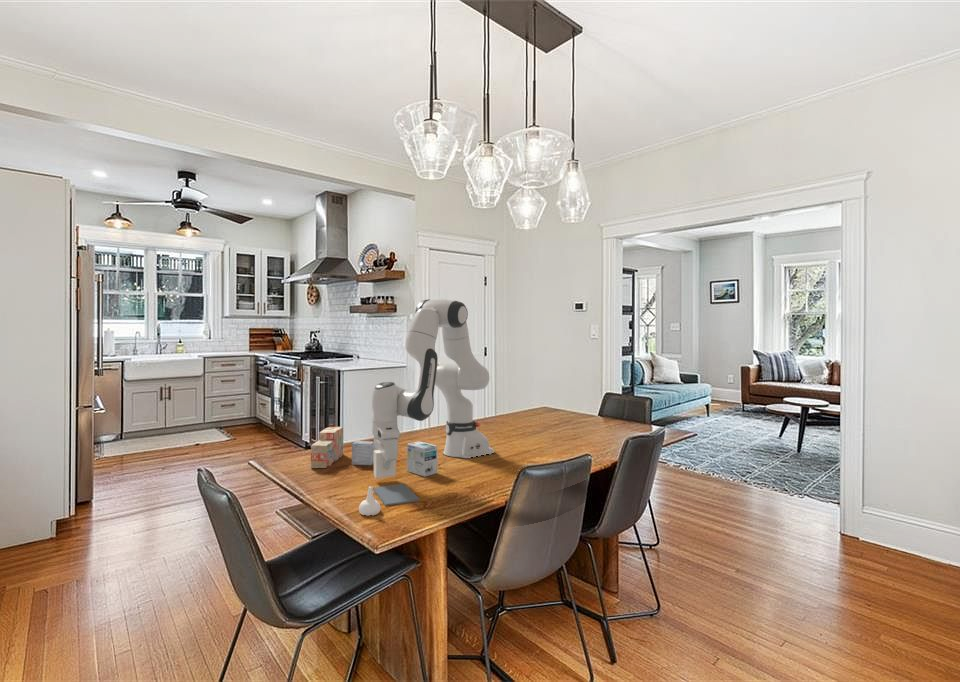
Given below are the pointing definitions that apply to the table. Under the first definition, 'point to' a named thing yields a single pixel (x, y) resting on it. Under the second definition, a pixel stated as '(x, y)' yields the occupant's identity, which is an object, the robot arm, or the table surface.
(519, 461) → the table surface
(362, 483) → the table surface
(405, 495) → the rubber mat
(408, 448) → the light bulb box
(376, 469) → the cream block
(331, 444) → the stack of blocks
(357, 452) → the medicine box
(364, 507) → the garlic bulb
